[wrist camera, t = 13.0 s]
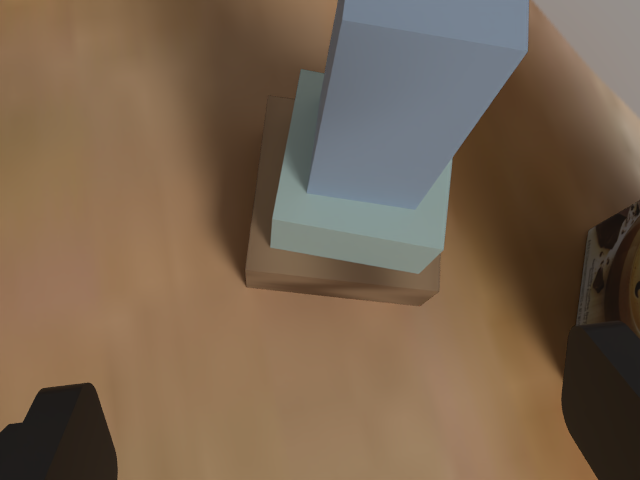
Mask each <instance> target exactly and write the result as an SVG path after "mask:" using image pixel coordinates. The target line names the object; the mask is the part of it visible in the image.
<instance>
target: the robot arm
mask: <svg viewBox="0 0 640 480" xmlns="http://www.w3.org/2000/svg"><path fill="white" fill-rule="evenodd" d="M561 401H562V411H563V415H564V419H565V423H566V425H567V428H568V430H569V433H570V434H571V436H572V438H573V439H574V441H575V443H576V444H577V446H578V448H579V449H580V451H581V452H582V454H583V456H584V457H585V459H586V460H587V462H588V464H589V465H590V467H591V469H592V470H593V472H594V473H595V475H596V477H597V478H598V480H640V339H639V338H638V337H637V335H636V334H635V333H634V332H633V331H632V330H631V329H630V328H629V327H628V326H627V325H626V324H625V323H623V322H622V321H610V322H602V323H593V324H585V325H577V326H573V327H572V328H571V330H570V332H569V336H568V343H567V352H566V361H565V370H564V379H563V387H562V398H561ZM117 474H118V467H117V456H116V452H115V448H114V445H113V442H112V438H111V435H110V432H109V429H108V426H107V423H106V420H105V417H104V413H103V410H102V407H101V404H100V401H99V398H98V395H97V392H96V389H95V388H94V386H93V385H92V384H91V383H82V384H73V385H65V386H57V387H48V388H43V389H41V390H40V391H39V392H38V394H37V395H36V397H35V399H34V401H33V403H32V405H31V407H30V409H29V411H28V413H27V415H26V417H25V419H24V421H23V423H15V424H9V425H8V426H7V427H6V428H4V429H3V430H2V431H1V432H0V480H117Z"/></svg>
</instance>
